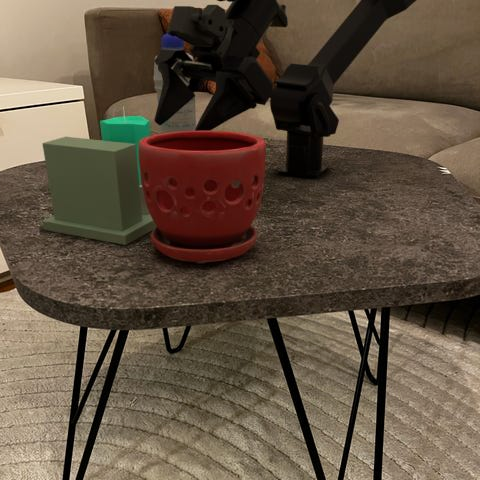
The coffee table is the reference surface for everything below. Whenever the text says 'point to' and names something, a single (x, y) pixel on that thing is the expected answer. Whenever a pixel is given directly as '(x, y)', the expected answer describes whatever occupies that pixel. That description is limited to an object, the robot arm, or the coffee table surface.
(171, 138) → the flower pot
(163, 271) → the coffee table surface
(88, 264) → the coffee table surface
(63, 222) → the green tombstone shape
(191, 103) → the bottle
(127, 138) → the candle
